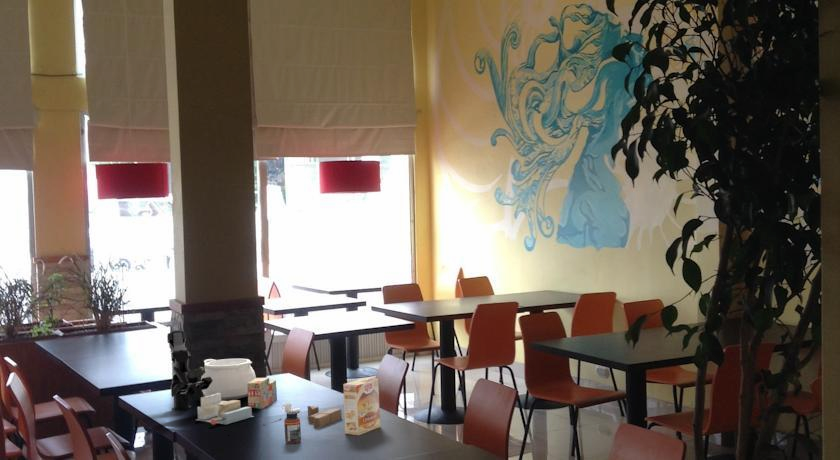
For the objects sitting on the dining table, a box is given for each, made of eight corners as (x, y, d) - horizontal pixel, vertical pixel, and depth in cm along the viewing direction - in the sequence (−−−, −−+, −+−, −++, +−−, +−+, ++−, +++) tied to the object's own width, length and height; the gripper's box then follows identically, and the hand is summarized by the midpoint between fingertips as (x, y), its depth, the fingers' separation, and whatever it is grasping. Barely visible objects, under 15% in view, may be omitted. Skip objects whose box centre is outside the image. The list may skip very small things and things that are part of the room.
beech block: (218, 420, 363) (217, 404, 362) (234, 416, 370) (233, 399, 370) (224, 421, 360) (224, 404, 360) (240, 416, 368) (240, 400, 368)
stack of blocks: (264, 399, 408) (263, 373, 407) (277, 399, 407) (276, 373, 406) (248, 409, 386) (246, 382, 386) (261, 409, 385) (260, 382, 385)
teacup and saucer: (302, 411, 379) (302, 402, 379) (292, 416, 372) (292, 406, 372) (285, 410, 382) (285, 401, 382) (275, 414, 375) (275, 405, 375)
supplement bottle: (285, 440, 328) (284, 411, 327) (301, 439, 328) (300, 410, 328) (284, 444, 322) (283, 414, 322) (300, 443, 322) (299, 413, 322)
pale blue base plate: (184, 425, 361) (183, 413, 361) (224, 414, 379) (223, 403, 379) (214, 430, 350) (214, 417, 350) (254, 418, 368) (253, 406, 368)
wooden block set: (342, 406, 362) (319, 415, 346) (343, 419, 362) (320, 429, 346) (308, 403, 369) (284, 412, 353) (309, 416, 369) (285, 426, 353)
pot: (269, 392, 424) (268, 358, 423) (231, 403, 401) (229, 366, 401) (227, 388, 439) (225, 355, 439) (187, 399, 417) (186, 363, 417)
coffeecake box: (359, 435, 330) (356, 385, 330) (344, 433, 334) (342, 384, 334) (381, 426, 343) (379, 378, 343) (366, 425, 347) (364, 377, 347)
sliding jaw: (197, 418, 366) (196, 398, 366) (222, 411, 378) (222, 392, 378) (204, 419, 364) (203, 399, 364) (229, 412, 375) (228, 392, 375)
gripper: (175, 365, 370) (193, 392, 364) (208, 358, 385) (226, 384, 379) (164, 382, 374) (182, 409, 368) (198, 375, 390) (215, 401, 383)
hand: (202, 400), depth 375 cm, fingers closed
